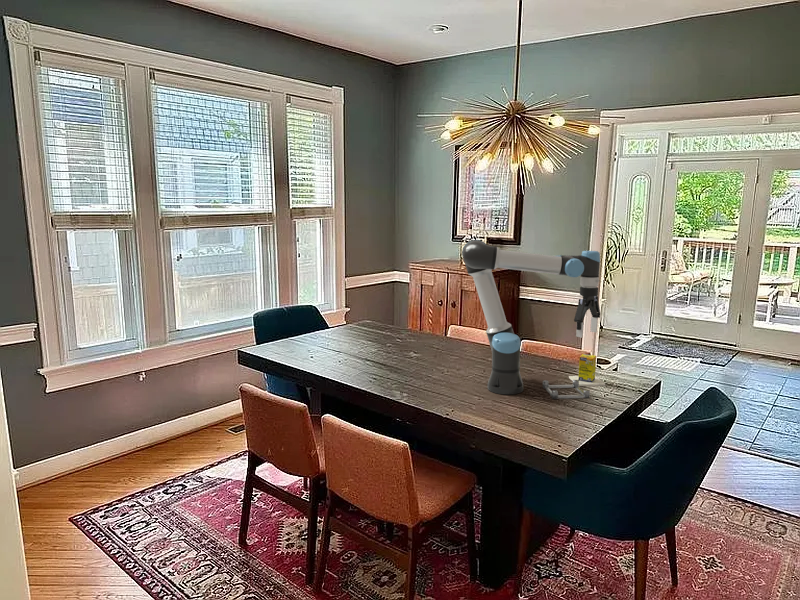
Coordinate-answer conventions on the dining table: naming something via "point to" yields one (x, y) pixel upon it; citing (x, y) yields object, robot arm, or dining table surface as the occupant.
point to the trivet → (584, 383)
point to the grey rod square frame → (575, 385)
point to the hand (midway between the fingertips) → (586, 334)
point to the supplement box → (587, 368)
